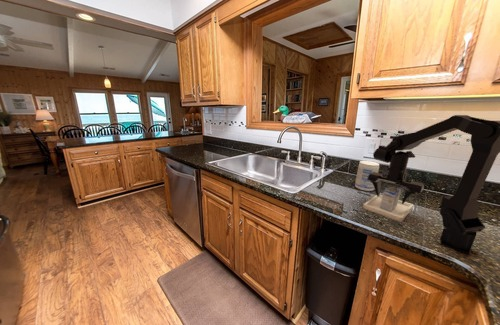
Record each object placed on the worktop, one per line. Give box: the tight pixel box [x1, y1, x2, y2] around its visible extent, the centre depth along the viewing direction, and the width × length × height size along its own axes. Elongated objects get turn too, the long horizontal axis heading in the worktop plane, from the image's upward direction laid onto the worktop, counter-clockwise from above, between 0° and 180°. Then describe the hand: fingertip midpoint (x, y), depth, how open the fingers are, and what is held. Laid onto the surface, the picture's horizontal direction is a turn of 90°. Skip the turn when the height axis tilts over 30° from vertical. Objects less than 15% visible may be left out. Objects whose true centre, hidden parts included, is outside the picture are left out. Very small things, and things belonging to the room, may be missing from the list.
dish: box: [362, 193, 414, 223], centre depth 85 cm, size 14×18×2 cm
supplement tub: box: [354, 160, 380, 192], centre depth 106 cm, size 10×10×15 cm
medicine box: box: [380, 185, 402, 212], centre depth 84 cm, size 8×4×9 cm, turn 130°
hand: (389, 199), depth 84 cm, fingers open, 9 cm apart
